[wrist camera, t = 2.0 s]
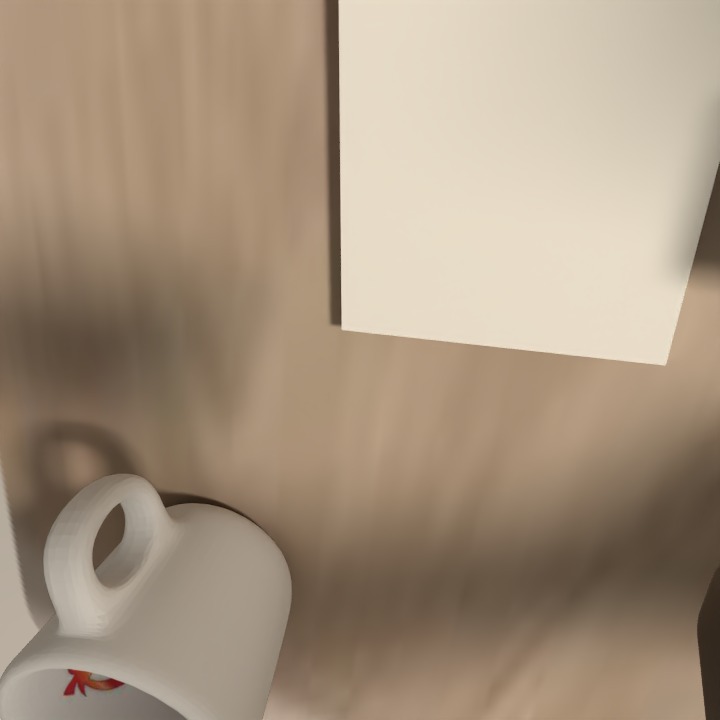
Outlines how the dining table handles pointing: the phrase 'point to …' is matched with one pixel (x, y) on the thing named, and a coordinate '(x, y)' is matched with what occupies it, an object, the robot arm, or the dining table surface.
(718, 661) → the robot arm
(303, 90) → the dining table surface
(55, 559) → the cup
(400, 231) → the coaster
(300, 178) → the dining table surface
